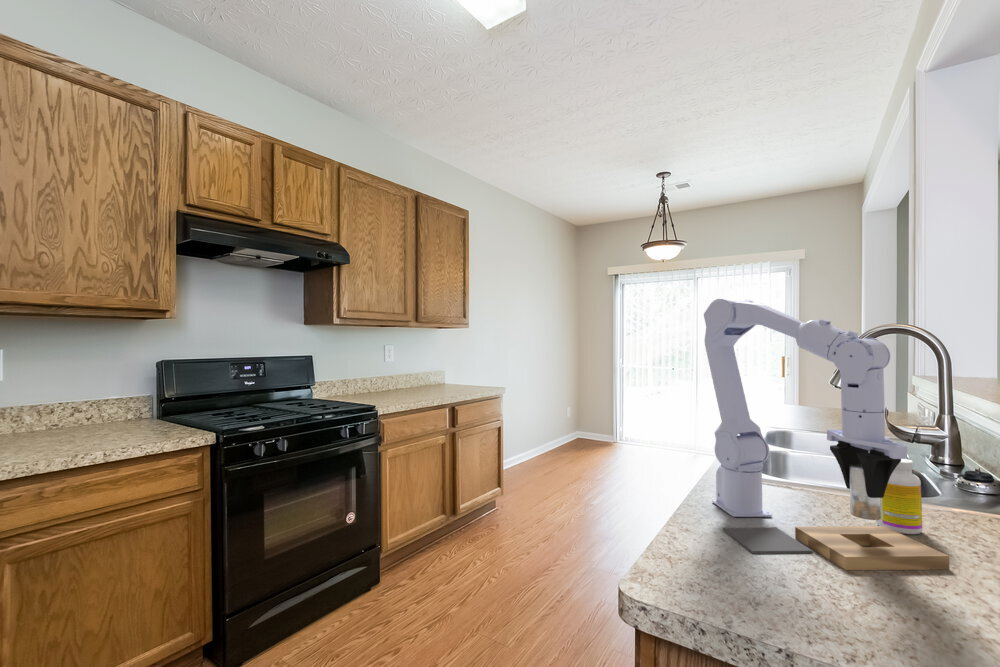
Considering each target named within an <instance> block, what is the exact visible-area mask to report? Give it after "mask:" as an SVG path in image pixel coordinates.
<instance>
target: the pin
mask: <svg viewBox="0 0 1000 667" xmlns="http://www.w3.org/2000/svg"><path fill="white" fill-rule="evenodd" d="M849 472H850V489H849V502H850V503H849V504H850V510H849V511H850V515H851V516H853V517H855V518H859V519H863V520H868V521H869V520H870V521H876V520H880V519H881V498H870V497H868V495H867V492H866V485H865V476H864V471H863V468H862V465H861V464H850V465H849Z"/></svg>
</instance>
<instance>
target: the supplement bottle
mask: <svg viewBox="0 0 1000 667" xmlns="http://www.w3.org/2000/svg"><path fill="white" fill-rule="evenodd" d="M913 469H914V461H913V460H911V459H908V458H907V459H901V462H900V463H899V464H898V465H897V467H896V468H895V469H894V471H893V472H892V474H891V476H890V479H889V481H888V484H887V487H886V490H885V494H884V497H883V498H881V519H880V520H875V522H876V524H877V526H885V527H887V528H889V529H892V530H894V531H896V532H898V533H900V534H902V535H919V534H921V533H922V532H923V508H922V482H921V479H920V478H919V477H918V476H917V475H916V474H915V473H913Z"/></svg>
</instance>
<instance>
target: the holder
mask: <svg viewBox="0 0 1000 667" xmlns="http://www.w3.org/2000/svg"><path fill="white" fill-rule="evenodd" d="M794 532H795V533H794V536H795V537H794V539H795V540H797V541H798V542H800V543H801V544H803V545H805V546H806V547H808V548H809V549H811V550H812V551H815V552H816V553H818V554H820V555H821V556H822V557H824V558H826V559H827V560H829V561H830V562H832V563H833V564H835V565H837V566H838V567H840V568H842V569H843V570H845V571H891V570H893V571H894V570H896V571H897V570H898V571H901V570H902V571H903V570H905V571H909V570H911V571H912V570H915V571H916V570H917V571H918V570H950V555H948V554H945V553H943V552H942V551H939V550H937V549H935V548H932V547H930V546H928V545H926V544H924V543H922V542H919V541H917V540H915V539H913V538H911V537H909V536H907V535H906V534H902V533H898V532H896V531H894V530H892V529H889V528H887V527H885V526H879V525H875V526H873V525H872V526H871V525H870V526H869V525H864V526H863V525H862V526H860V525H858V526H855V525H854V526H842V525H840V526H795V528H794Z"/></svg>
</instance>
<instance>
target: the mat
mask: <svg viewBox="0 0 1000 667" xmlns="http://www.w3.org/2000/svg"><path fill="white" fill-rule="evenodd" d="M722 530H723V531H724V532H725V533H726V534H727V535H728V536H730V537H731V538H732V539H734V541H736V542H737V543H738V544H740V545H741V546H742V547H744V548H745V549H746V550H747V551H749V553H751V554H753V555H754V554H755V555H757V554H813V553H814V550H813V549H812V548H810V547H808V546H807V545H805V544H804V543H802V542H801V541H799V540H797V539H796V538H795V537H792V536H790V535H789V534H788V533H786V532H785V531H783V530H781V529H780V528H778V527H776V526H775V527H774V526H773V527H769V526H767V527H765V526H764V527H758V526H757V527H723V528H722Z"/></svg>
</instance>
